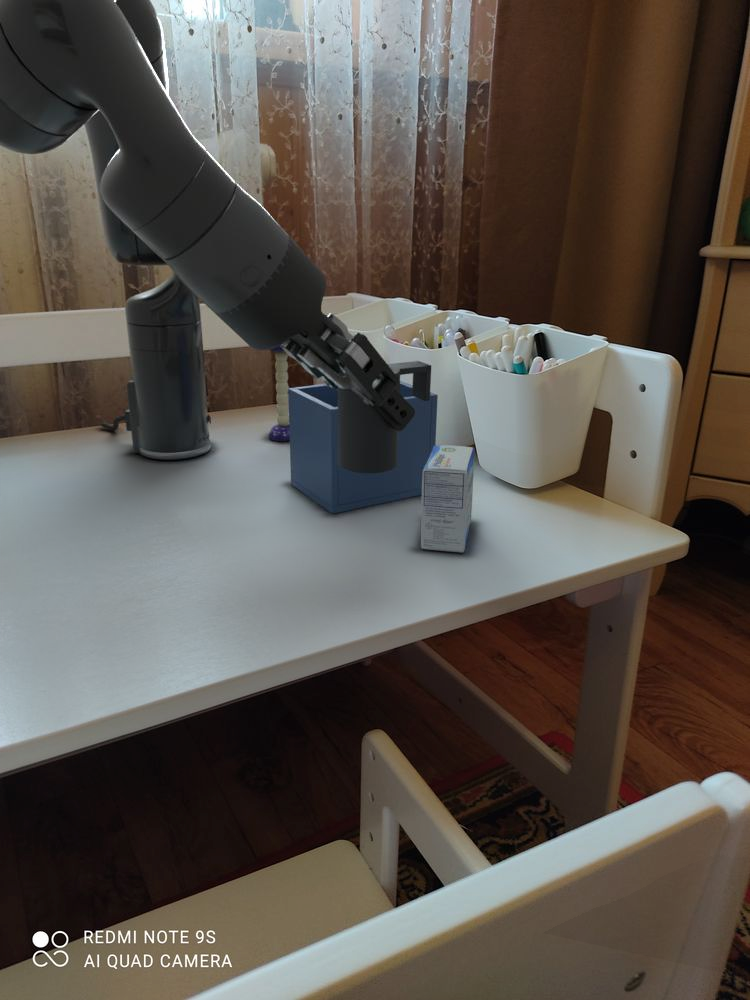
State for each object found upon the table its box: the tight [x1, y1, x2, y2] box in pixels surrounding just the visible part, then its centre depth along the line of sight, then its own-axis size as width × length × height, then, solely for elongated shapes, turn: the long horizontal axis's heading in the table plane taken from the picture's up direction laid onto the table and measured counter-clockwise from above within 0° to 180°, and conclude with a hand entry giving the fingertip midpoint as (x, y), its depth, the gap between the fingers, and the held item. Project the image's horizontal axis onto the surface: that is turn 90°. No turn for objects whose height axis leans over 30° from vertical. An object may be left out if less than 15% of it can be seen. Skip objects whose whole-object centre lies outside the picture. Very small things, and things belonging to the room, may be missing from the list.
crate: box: [287, 380, 439, 515], centre depth 90 cm, size 14×11×12 cm
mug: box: [338, 360, 432, 474], centre depth 64 cm, size 8×5×8 cm, turn 121°
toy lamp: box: [268, 346, 290, 442], centre depth 108 cm, size 5×5×17 cm
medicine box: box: [420, 444, 476, 554], centre depth 78 cm, size 8×4×9 cm, turn 168°
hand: (387, 412), depth 64 cm, fingers closed on mug, 5 cm apart
